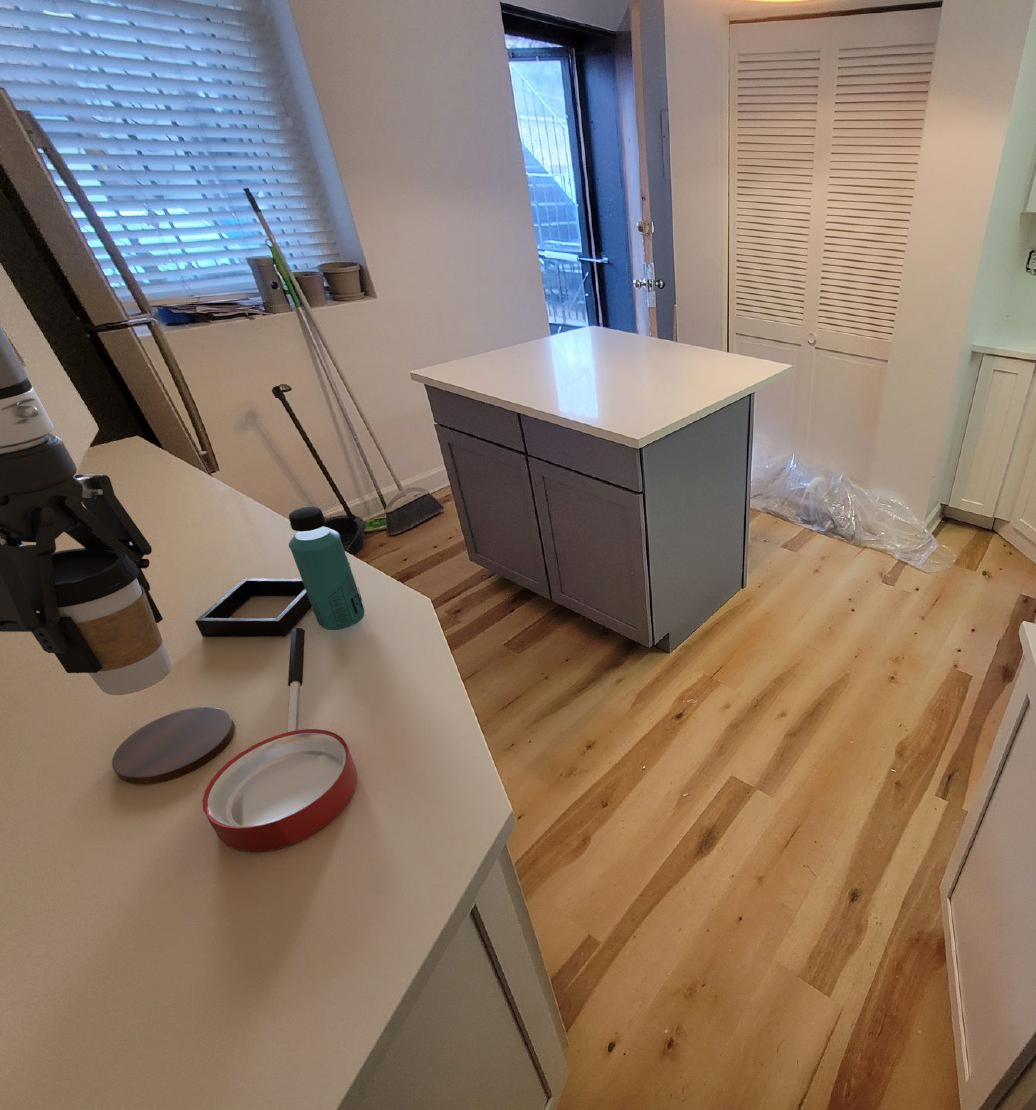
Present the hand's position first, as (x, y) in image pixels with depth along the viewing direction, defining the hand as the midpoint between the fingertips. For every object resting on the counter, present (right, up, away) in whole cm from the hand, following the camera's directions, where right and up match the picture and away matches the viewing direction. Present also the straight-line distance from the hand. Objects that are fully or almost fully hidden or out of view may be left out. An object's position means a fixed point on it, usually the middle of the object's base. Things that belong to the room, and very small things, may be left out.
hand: (118, 644), depth 65 cm
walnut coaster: (-1, -14, +8) cm, 16 cm away
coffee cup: (0, -4, +2) cm, 5 cm away
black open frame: (-8, 0, +31) cm, 32 cm away
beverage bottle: (+5, -2, +29) cm, 30 cm away
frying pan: (+12, -14, +9) cm, 20 cm away
